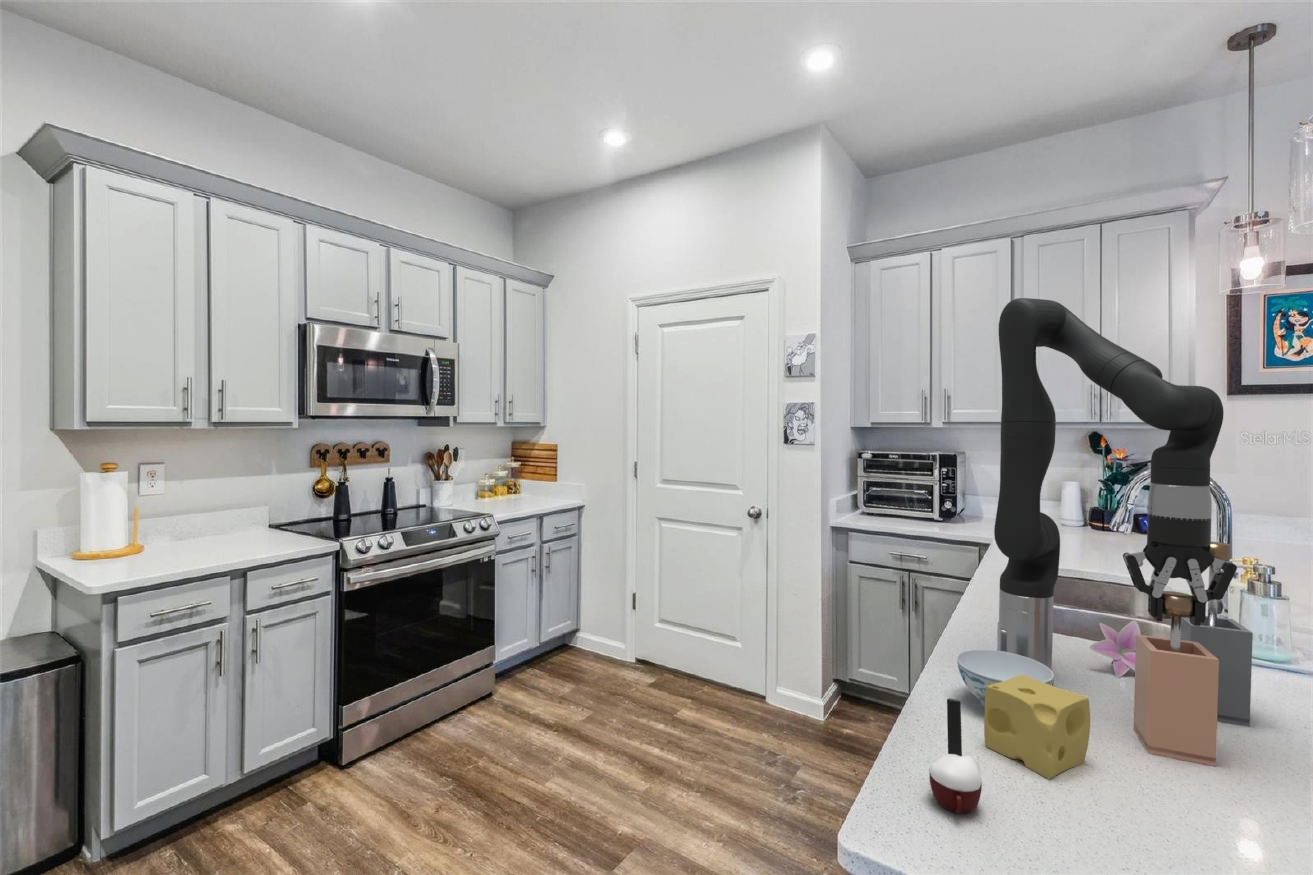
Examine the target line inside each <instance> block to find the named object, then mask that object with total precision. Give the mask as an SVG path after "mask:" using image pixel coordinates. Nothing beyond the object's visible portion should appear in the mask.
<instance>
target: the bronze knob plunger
mask: <svg viewBox="0 0 1313 875" xmlns="http://www.w3.org/2000/svg"><path fill="white" fill-rule="evenodd" d="M1161 598H1162V599H1163V615H1167V616H1170V633H1169V634H1170V635H1169V636H1170V637H1169V639H1170V651H1171V652H1178V653H1180V638H1181V617H1183V618H1191V617H1193V607H1194V597H1193V596H1192V594H1188V593H1185V592H1179V591H1169V590H1164V591H1163V593H1162V596H1161Z"/></svg>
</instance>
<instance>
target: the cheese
mask: <svg viewBox="0 0 1313 875" xmlns="http://www.w3.org/2000/svg"><path fill="white" fill-rule="evenodd" d="M1090 709H1091V708H1090V698H1089V696H1086V695H1084V694H1081V693H1080V694H1079V693H1077V692H1074V691H1070V690H1066V689H1063V688H1060V687H1057V686H1054V685H1052V686H1051V685H1049V684H1046V683H1043V682H1040V681H1038V680H1035V679H1033V678H1030V677H1028V676H1025V675H1019V676H1016V677H1013V678H1010V679H1008V680H1005V681H1002V682H999V683H995V684H991V685H988V686H986V691H985V708H984V715H983V716H984V720H983V726H984V728H983V729H984V730H983V731H984V745H985V747H986V748H988V749H990V750H992V751H994V752H996V753H999V754H1000V755H1002V756H1004V757H1007V758H1009V759H1012V760H1018V761H1023V763H1024V765H1025V768H1027V769H1029V770H1031V771H1033V772H1035V773H1036V774H1039V775H1040V776H1042V777H1044V779H1048V780H1051V779H1053V778H1054V777H1056V776H1057V775H1059V774H1061V773H1062V772H1064V771H1065V772H1066V771H1067V770H1068V769H1071V768H1073V767H1077V766H1078V765H1081V764H1084V763H1085V761H1086V756H1087V751H1088V747H1089V740H1090V734H1091V733H1090V732H1091V731H1090V730H1091V710H1090Z"/></svg>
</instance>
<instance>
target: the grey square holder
mask: <svg viewBox="0 0 1313 875" xmlns="http://www.w3.org/2000/svg"><path fill="white" fill-rule="evenodd" d="M1207 622H1208V615H1206V619H1205V621H1204V623H1202V622H1201V623H1200V626H1195V625H1193V624H1191V623H1190V618H1183V617H1181V638H1180V640H1184V641H1192V642H1199V643H1200V644H1201V645H1202V646H1203V647H1204V648H1206V649H1207V650H1208V651H1209V652H1210V653H1211V654H1213V655H1214V656H1215V657H1216V658H1217V659H1218V660H1219V674H1218V707H1217V722H1219V723H1226V724H1232V725H1236V726H1242V727H1249V728H1250V726H1251V700H1252V698H1251V696H1252V695H1251V694H1252V670H1253V669H1252V666H1253V665H1252V662H1253V631H1251V630H1249V629H1248V628H1246V627H1245V626H1243V625H1242V624H1241V623H1239V622H1238V621H1236V620H1234V619H1233V618H1227V617H1221V616H1220V617H1219V616H1217V627H1213V626H1207Z"/></svg>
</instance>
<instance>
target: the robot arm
mask: <svg viewBox="0 0 1313 875" xmlns="http://www.w3.org/2000/svg"><path fill="white" fill-rule="evenodd" d="M998 342H999V345H998V346H999V355H1000V365H1001V369H1000V370H1001V415H1000V416H1001V417H1000V460H999V461H1000V463H999V475H1000V476H999V491H998V492H999V493H998V500H997V509H996V515H995V521H994V528H993V529H994V530H993V531H994V532H993V533H994V535H993V536H994V540H995V544H996V546H997V548H998V550H999V551H1000V552H1001V554H1002V555H1004V556H1005V557H1007V558H1008V561H1007V564H1006V567H1005V569H1004V570H1003V571H1002V573H1001V574H1000V576H999V597H998V598H999V601H998V604H999V605H998V622H997V633H996V634H997V636H996V637H997V638H996V639H997V640H996V643H997V644H996V651H1003V652H1008V653H1013V654H1017V655H1021V656H1024V657H1027V658H1030V659H1033V660H1035V661H1038V662H1040V663H1042V664H1044V665H1045V666H1047V667H1048V668H1049V669H1051V671H1052V672H1053V670H1052V669H1053V641H1054V640H1053V637H1054V634H1053V632H1054V631H1053V630H1054V600H1055V599H1054V598H1055V597H1054V595H1055V594H1054V593H1055V591H1054V590H1055V586H1056V583H1057V581H1058V577H1059V570H1060V569H1059V568H1060V567H1059V566H1060V556H1061V555H1060V554H1061V536H1060V531H1059V530H1060V529H1059V527H1058V525H1057V524H1056V522H1055V520H1054V519H1053V518H1052V517H1051V516H1049V515H1048V514H1046V513H1044V512H1041V493H1042V488H1043V487H1042V486H1043V483H1044V479H1045V477H1046V475H1047V471H1048V470H1049V466H1050V463H1051V461H1052V457H1053V455H1054V450H1055V445H1056V429H1057V428H1056V425H1057V423H1056V422H1057V420H1056V418H1057V417H1056V410H1055V407H1054V405H1053V402H1052V400H1051V398H1050V396H1049V393H1048V392H1047V390H1046V388H1045V386H1044V385H1043V382H1042V380H1041V378H1040V375H1039V371H1038V367H1037V366H1038V365H1037V348H1041V347H1045V348H1048V349H1052V350H1054V351H1056V352H1060V353H1062V354H1064V355H1066V356H1068V357H1069V358H1071V359H1072V360H1073V361H1074V362H1075V363H1076V364H1077V366H1078V368H1079V369H1080V370H1081V372H1082V373H1083V374H1084V375H1085V376H1086V378H1087V379H1089V380H1090V382H1093V383H1094V384H1095V385H1097V386H1098V387H1100V388H1102V390H1105V391H1106V392H1107V393H1109V394H1111V395H1113V396H1115V397H1116V398H1118V399H1120V400H1121V401H1122V402H1123V404H1124V405H1125V406H1126V407H1127V408H1128V410H1130V411H1131V412H1132V413H1133V414H1134V415H1135V416H1136V417H1137V418H1138V419H1139V420H1140V421H1142V422H1144V423H1145V424H1147V425H1149V426H1151V427H1153V428H1156V429H1158V430H1162V431H1169V434H1168V438H1167V441H1166V443H1164V444H1165V445H1162V446H1159V447H1157V448H1155V449H1154V450H1153V451H1152V453H1151V457H1150V484H1149V491H1148V494H1147V495H1148V496H1147V504H1146V510H1147V520H1146V521H1147V526H1146V528H1147V529H1146V531H1147V533H1146V544H1145V546H1144V548H1143V549H1142V551H1140V552H1139V551H1138V552H1133V553H1130V552H1124V553H1123V555H1122V558H1123V561H1124V562H1125V563H1124V564H1125V565H1126V568H1127V571H1128V573H1129V576H1130V578H1131V581H1132V584H1133V587H1134V588H1136V589H1137V590H1138V591H1139V592H1140V593H1144V594H1146V595H1147V598H1148V599H1147V600H1148V601H1147V602H1148V603H1147V612H1148V615H1150V616H1151V617H1152V618H1153V620H1154V621H1156V622H1161V623H1162V622H1163V615H1164V614H1163V599H1162V598H1161V596H1162V593H1163V591H1165V587H1166V586H1167V585H1168V583H1169V581H1170V579H1179V578H1180V579H1183V580H1186V583H1187V585H1188V587H1189V591H1190V593H1191V594H1190V595H1192V596H1193V597H1194V607H1193V617H1191V618H1190V623H1191V624H1193V625H1195V626H1200V623H1201V622H1202V623H1204V621H1205V619H1206V616H1207V615H1206V613H1207V609H1206V608H1207V604H1208V601H1209V600H1215V599H1216V600H1217V601H1220V600H1222V599H1223V598H1224V596H1225V595H1226V593H1227V590H1228V588H1229V586H1230V584H1231V583H1232V580H1233V578H1234V575H1235V574H1236V572H1237V570H1238V567H1237V565H1236V564H1234V563H1233V562H1231V561H1230V562H1229V561H1226V560H1224V561H1223V560H1220V559H1217V558H1214V555H1213V554H1212V552H1211V549H1210V547H1211V542H1212V511H1213V510H1212V508H1213V506H1212V504H1213V502H1212V494H1211V457H1212V455H1213V452H1214V450H1215V447H1216V445H1217V442H1218V439H1219V435H1220V432H1221V429H1222V425H1223V422H1224V406H1223V403H1222V400H1221V398H1220V395H1218V394H1217V392H1215V390H1213V389H1211V388H1208V387H1206V386H1201V385H1178V384H1174V383H1172V382H1169V381H1168V380H1165V379H1163V378H1164V376H1163V373H1162V371H1161V369H1160V368H1158V367H1157V366H1156V365H1154V364H1153V363H1152V362H1150V361H1148V360H1146V359H1144V358H1143V357H1140V356H1139V355H1137V354H1135V353H1133V352H1132V351H1129V350H1127V349H1125V348H1124V347H1122V346H1119V345H1118V344H1116V343H1114V342H1113V341H1112V340H1109V339H1108V338H1106V337H1105V336H1103V335H1102V334H1100V333H1099V332H1097V331H1096V330H1094V329H1093V328H1092V327H1090V326H1089V325H1087V323H1085V322H1084V321H1082V320H1081V319H1080V318H1079V317H1078V316H1077V315H1076V314H1074V313H1073V312H1072V311H1071V310H1069V309H1068V308H1067V307H1066V306H1065V305H1063V304H1062V303H1060V302H1058V301H1055V300H1051V299H1050V300H1049V299H1045V298H1043V299H1040V298H1030V297H1019V298H1018V297H1017V298H1015V299H1012V300H1011V301H1009V302H1008V303H1007V304H1006V305H1005V306H1004V307H1003V309H1002V311H1001V313H1000V316H999V321H998ZM1144 560H1147V561H1148V563H1149V564H1150V565H1151V566H1152V568H1153V570H1152V573H1151V577H1150V582H1149V584H1147V583H1146V580H1145V579H1144V576H1143V573H1142V570H1141V567H1142V566H1143V565H1144ZM1211 564H1213V570H1214V571H1215V572H1216V573H1215V575H1214V577H1213V579H1212V581H1211V583H1210V585H1209V584H1208V587H1207V589H1205V582H1204V579H1203V576H1202V575H1203V573H1204V572H1205V571H1206V570H1207V569H1209V566H1210V565H1211Z"/></svg>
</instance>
